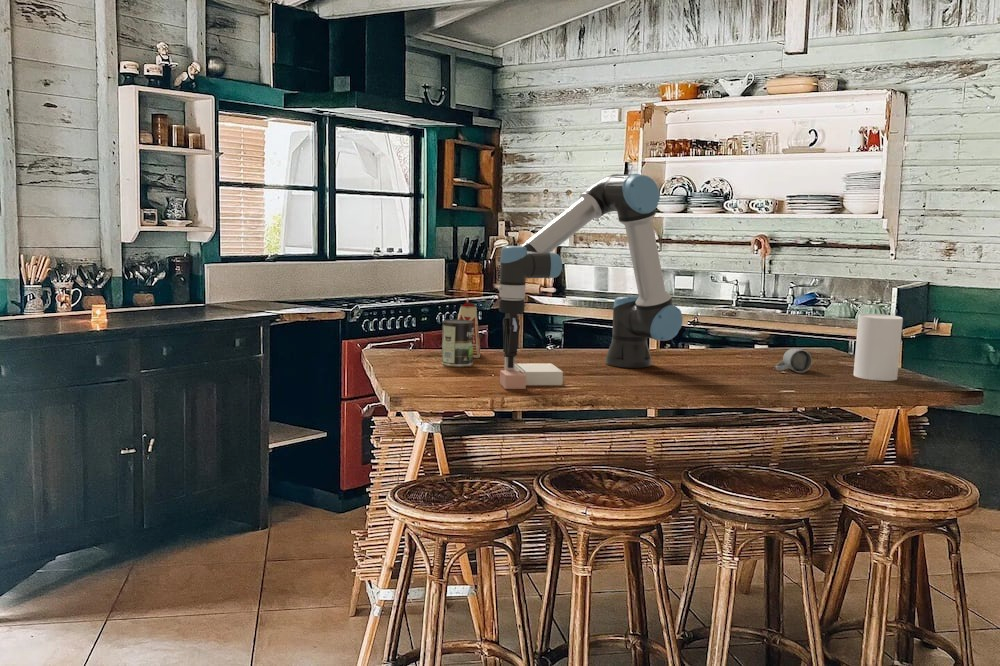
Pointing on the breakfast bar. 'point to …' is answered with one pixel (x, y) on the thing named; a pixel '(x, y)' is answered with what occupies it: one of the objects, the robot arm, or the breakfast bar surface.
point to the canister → (878, 347)
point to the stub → (512, 379)
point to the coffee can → (457, 342)
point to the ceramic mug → (795, 361)
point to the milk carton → (470, 313)
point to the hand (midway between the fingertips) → (509, 377)
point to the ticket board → (541, 373)
